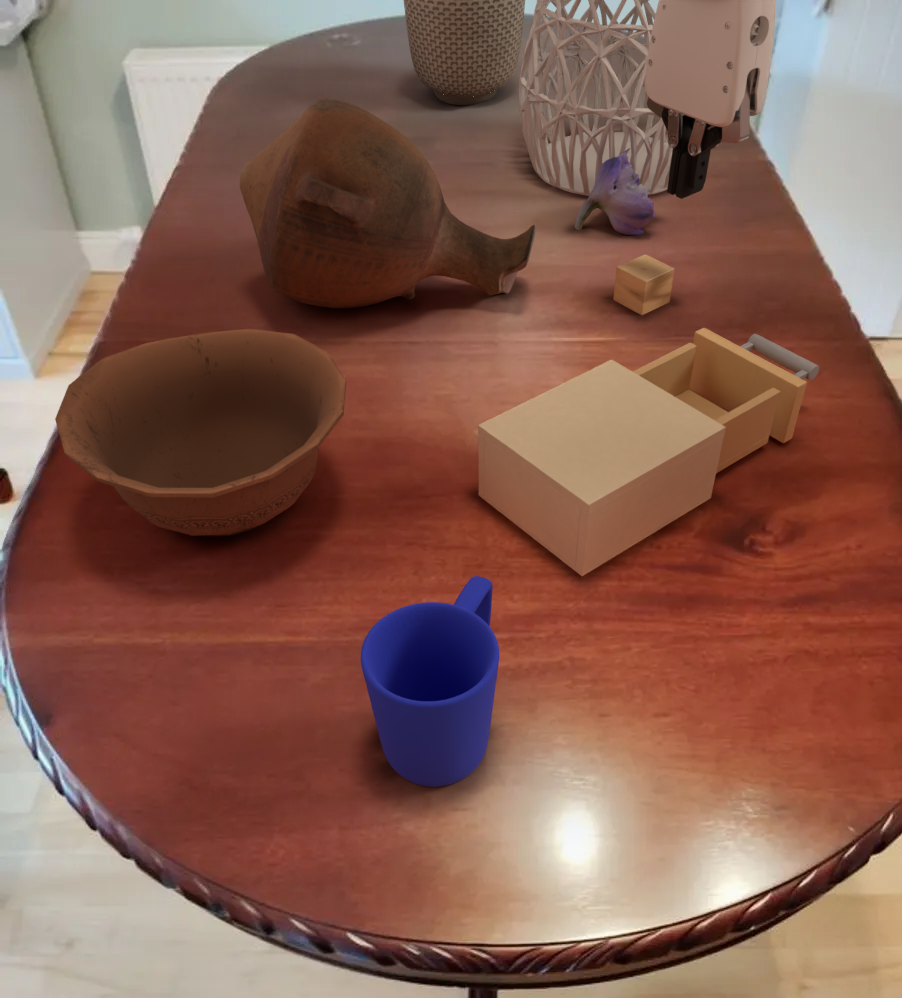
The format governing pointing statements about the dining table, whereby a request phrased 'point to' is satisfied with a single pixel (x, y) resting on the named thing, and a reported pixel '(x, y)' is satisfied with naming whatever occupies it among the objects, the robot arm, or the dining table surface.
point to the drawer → (736, 388)
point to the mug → (434, 685)
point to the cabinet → (598, 463)
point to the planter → (464, 45)
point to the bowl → (205, 426)
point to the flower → (619, 197)
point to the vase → (583, 153)
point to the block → (643, 284)
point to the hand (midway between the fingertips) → (684, 191)
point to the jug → (362, 215)
